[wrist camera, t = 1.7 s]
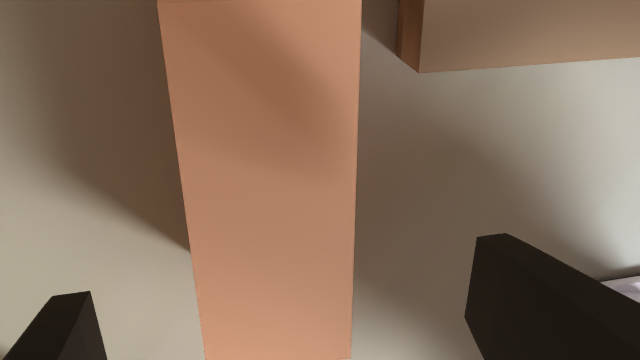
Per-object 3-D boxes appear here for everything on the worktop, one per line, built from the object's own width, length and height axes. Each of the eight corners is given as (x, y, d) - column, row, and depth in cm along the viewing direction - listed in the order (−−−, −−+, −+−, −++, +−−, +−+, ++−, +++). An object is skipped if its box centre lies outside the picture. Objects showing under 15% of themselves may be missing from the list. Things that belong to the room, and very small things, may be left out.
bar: (307, 241, 21) (350, 358, 16) (200, 256, 20) (208, 383, 15) (302, -41, 16) (361, -6, 11) (163, -37, 16) (156, 3, 10)
